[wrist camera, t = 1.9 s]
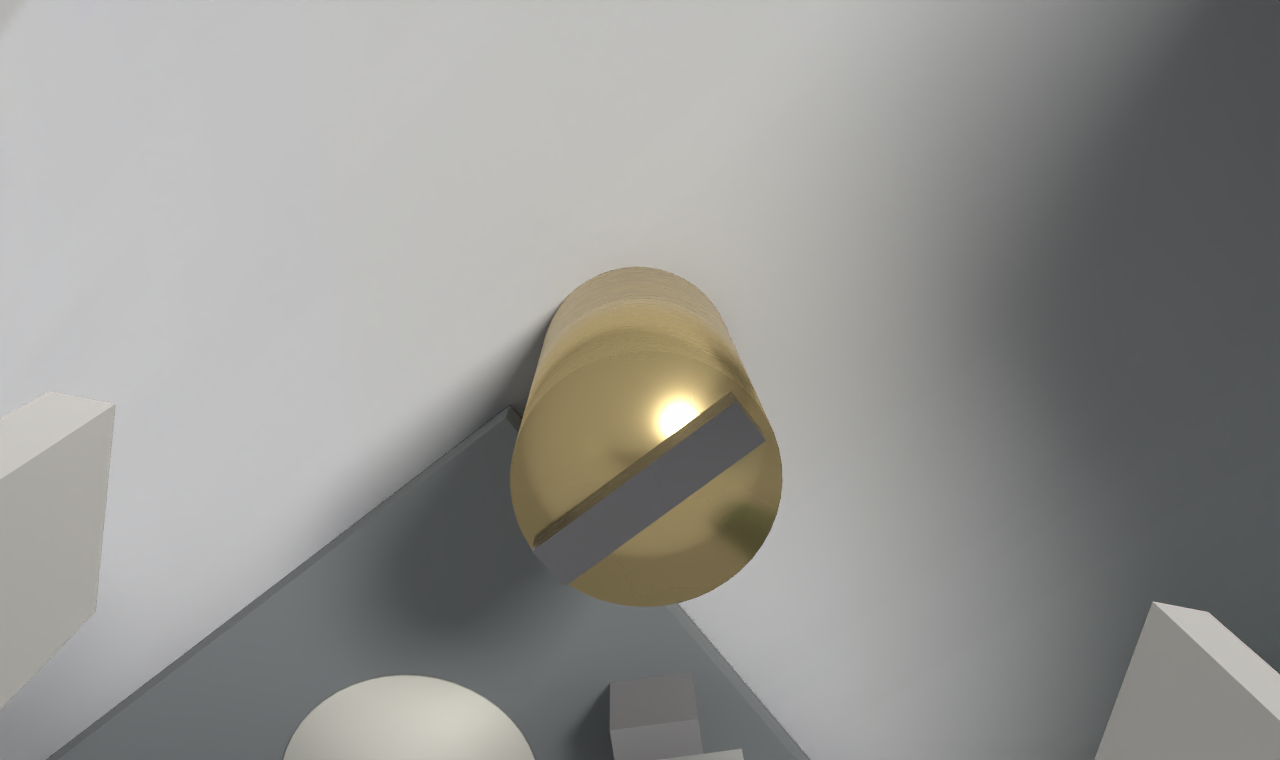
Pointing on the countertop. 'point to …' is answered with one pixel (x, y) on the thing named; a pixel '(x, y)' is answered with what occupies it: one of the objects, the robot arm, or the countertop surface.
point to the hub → (643, 445)
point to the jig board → (442, 653)
